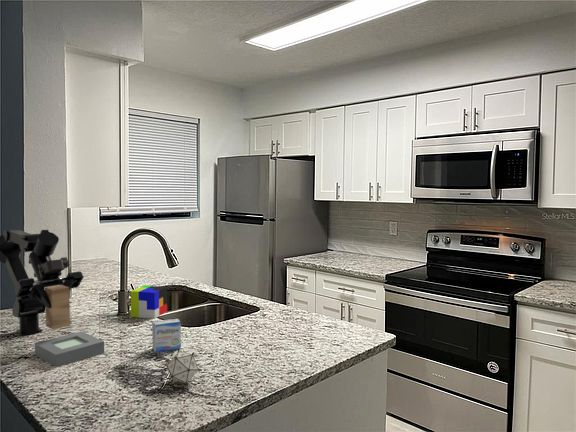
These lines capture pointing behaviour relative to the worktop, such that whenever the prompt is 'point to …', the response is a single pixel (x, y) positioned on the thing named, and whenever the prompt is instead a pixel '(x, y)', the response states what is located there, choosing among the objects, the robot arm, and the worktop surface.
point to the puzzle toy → (148, 301)
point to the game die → (182, 367)
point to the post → (58, 307)
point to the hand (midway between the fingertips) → (59, 305)
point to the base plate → (69, 348)
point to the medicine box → (166, 335)
